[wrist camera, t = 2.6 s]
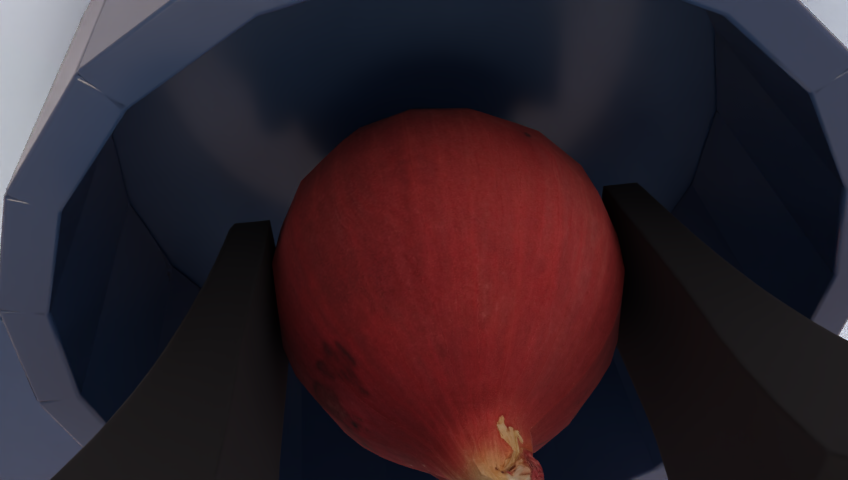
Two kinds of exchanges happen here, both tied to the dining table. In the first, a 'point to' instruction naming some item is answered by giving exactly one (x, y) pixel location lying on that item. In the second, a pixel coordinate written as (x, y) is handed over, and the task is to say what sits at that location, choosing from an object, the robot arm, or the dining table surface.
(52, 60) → the dining table surface
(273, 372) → the robot arm
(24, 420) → the lid
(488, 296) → the onion
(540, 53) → the pot
